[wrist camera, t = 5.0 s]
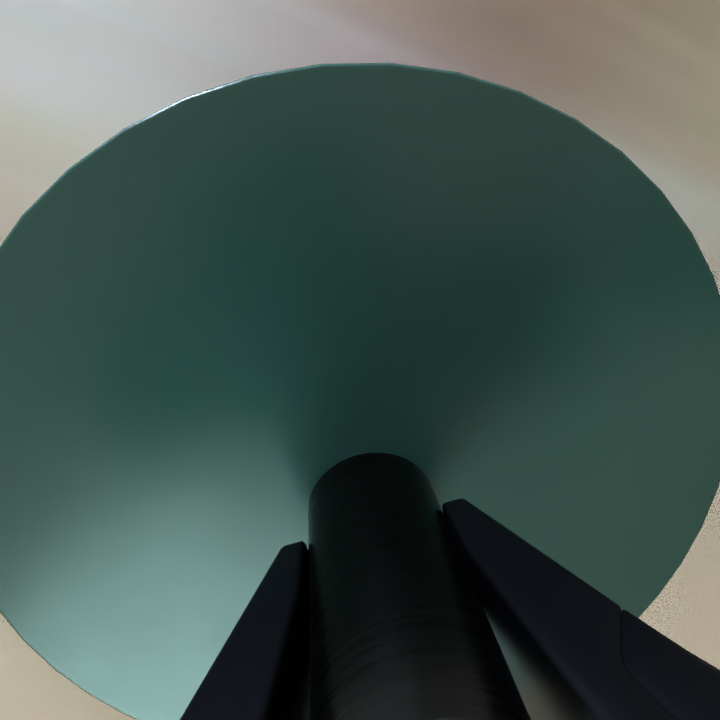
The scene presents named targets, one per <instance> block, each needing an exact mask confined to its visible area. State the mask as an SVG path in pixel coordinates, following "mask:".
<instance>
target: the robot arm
mask: <svg viewBox="0 0 720 720" xmlns="http://www.w3.org/2000/svg"><path fill="white" fill-rule="evenodd" d="M442 510H443V515H444V517H445V519H446V522H447V524H448V526H449V529H450V531H451V534H452V536H453V538H454V541H455V543H456V545H457V548H458V550H459V552H460V555H461V557H462V559H463V562H464V564H465V566H466V569H467V571H468V573H469V576H470V578H471V580H472V582H473V585H474V587H475V589H476V592H477V594H478V596H479V599H480V601H481V603H482V606H483V608H484V610H485V613H486V615H487V617H488V620H489V622H490V625H491V627H492V629H493V632H494V634H495V636H496V639H497V641H498V643H499V646H500V648H501V650H502V653H503V655H504V657H505V660H506V662H507V664H508V667H509V669H510V672H511V674H512V676H513V679H514V681H515V683H516V686H517V688H518V690H519V693H520V695H521V697H522V700H523V702H524V704H525V707H526V709H527V711H528V714H529V716H530V718H531V720H720V670H719V669H717V668H716V667H714V666H712V665H710V664H709V663H707V662H705V661H704V660H702V659H700V658H699V657H697V656H695V655H694V654H692V653H690V652H689V651H687V650H685V649H684V648H682V647H681V646H679V645H678V644H676V643H675V642H673V641H672V640H670V639H669V638H667V637H666V636H664V635H663V634H661V633H660V632H658V631H656V630H655V629H653V628H652V627H650V626H649V625H647V624H646V623H644V622H643V621H642V620H640V619H639V618H637V617H636V616H634V615H633V614H631V613H630V612H628V611H627V610H625V609H624V610H622V611H621V607H620V606H619V605H618V604H617V603H615V602H614V601H612V600H611V599H609V598H608V597H606V596H605V595H603V594H602V593H601V592H599V591H598V590H596V589H595V588H593V587H592V586H590V585H589V584H587V583H586V582H585V581H583V580H582V579H580V578H579V577H577V576H576V575H574V574H573V573H571V572H570V571H569V570H567V569H566V568H564V567H563V566H561V565H560V564H558V563H557V562H555V561H554V560H553V559H551V558H550V557H548V556H547V555H545V554H544V553H542V552H541V551H539V550H538V549H537V548H535V547H534V546H532V545H531V544H529V543H528V542H526V541H525V540H523V539H522V538H521V537H519V536H518V535H516V534H515V533H513V532H512V531H510V530H509V529H507V528H506V527H505V526H503V525H502V524H500V523H499V522H497V521H496V520H494V519H493V518H491V517H490V516H489V515H487V514H486V513H484V512H483V511H481V510H480V509H478V508H477V507H476V506H474V505H473V504H471V503H470V502H468V501H467V500H465V499H463V498H460V499H456V500H452V501H448V502H445V503H444V504H443V505H442ZM180 720H310V674H309V568H308V548H307V545H306V544H305V543H304V542H302V541H300V542H296V543H292V544H288V545H285V546H283V547H282V548H281V549H280V551H279V553H278V554H277V556H276V558H275V560H274V561H273V563H272V565H271V566H270V568H269V570H268V571H267V573H266V575H265V576H264V578H263V580H262V582H261V583H260V585H259V587H258V588H257V590H256V592H255V593H254V595H253V597H252V598H251V600H250V602H249V603H248V605H247V607H246V609H245V610H244V612H243V614H242V615H241V617H240V619H239V620H238V622H237V624H236V625H235V627H234V629H233V631H232V632H231V634H230V636H229V637H228V639H227V641H226V642H225V644H224V646H223V647H222V649H221V651H220V653H219V654H218V656H217V658H216V659H215V661H214V663H213V664H212V666H211V668H210V669H209V671H208V673H207V675H206V676H205V678H204V680H203V681H202V683H201V685H200V686H199V688H198V690H197V691H196V693H195V695H194V696H193V698H192V700H191V702H190V703H189V705H188V707H187V708H186V710H185V712H184V713H183V715H182V717H181V718H180Z"/></svg>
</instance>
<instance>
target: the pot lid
mask: <svg viewBox="0 0 720 720" xmlns="http://www.w3.org/2000/svg"><path fill="white" fill-rule="evenodd" d="M719 482H720V295H719V292H718V289H717V286H716V282H715V279H714V276H713V274H712V272H711V270H710V268H709V266H708V264H707V262H706V260H705V258H704V256H703V254H702V252H701V250H700V248H699V246H698V244H697V242H696V240H695V238H694V236H693V234H692V232H691V231H690V229H689V228H688V227H687V225H686V224H685V223H684V221H683V220H682V218H681V217H680V216H679V214H678V213H677V211H676V210H675V209H674V207H673V206H672V205H671V203H670V202H669V200H668V199H667V198H666V196H665V195H664V194H663V192H662V191H661V190H660V189H659V188H658V187H657V186H656V185H655V184H654V183H653V182H652V181H651V180H650V179H649V178H648V177H647V176H646V175H645V174H644V173H643V172H642V171H641V170H640V169H639V168H638V167H637V166H636V165H635V164H634V163H633V162H632V161H631V160H630V159H629V158H628V157H627V156H626V155H625V154H624V153H623V152H622V151H620V150H619V149H617V148H616V147H615V146H613V145H612V144H610V143H609V142H608V141H606V140H605V139H603V138H602V137H601V136H599V135H598V134H596V133H595V132H593V131H592V130H591V129H589V128H588V127H586V126H585V125H584V124H582V123H581V122H579V121H578V120H577V119H575V118H573V117H571V116H569V115H567V114H565V113H563V112H561V111H559V110H557V109H555V108H553V107H551V106H549V105H547V104H545V103H543V102H541V101H539V100H537V99H535V98H532V97H530V96H528V95H526V94H524V93H522V92H520V91H517V90H514V89H511V88H507V87H504V86H501V85H498V84H494V83H491V82H488V81H485V80H481V79H478V78H475V77H472V76H468V75H465V74H462V73H458V72H452V71H445V70H438V69H431V68H424V67H417V66H410V65H403V64H396V63H346V64H318V65H312V66H306V67H300V68H294V69H288V70H282V71H276V72H270V73H264V74H258V75H252V76H249V77H246V78H243V79H240V80H237V81H234V82H231V83H228V84H225V85H222V86H219V87H216V88H213V89H210V90H206V91H203V92H200V93H197V94H194V95H191V96H188V97H185V98H183V99H181V100H179V101H177V102H175V103H173V104H172V105H170V106H168V107H166V108H164V109H162V110H160V111H158V112H156V113H154V114H152V115H150V116H148V117H146V118H144V119H142V120H140V121H138V122H136V123H134V124H132V125H130V126H128V127H126V128H124V129H123V130H121V131H120V132H119V133H117V134H116V135H114V136H113V137H112V138H110V139H109V140H108V141H106V142H105V143H103V144H102V145H101V146H99V147H98V148H97V149H95V150H94V151H92V152H91V153H90V154H88V155H87V156H85V157H84V158H83V159H81V160H80V161H79V162H77V163H76V164H74V165H73V166H72V167H70V168H69V169H68V170H67V171H66V172H65V173H64V174H63V175H62V176H61V177H60V178H59V179H58V180H57V181H56V182H55V183H54V184H53V185H52V186H51V187H50V188H49V189H48V190H47V191H46V192H45V193H44V194H43V195H42V196H41V197H40V198H39V199H38V200H37V201H36V202H35V203H34V204H33V205H32V206H31V207H30V208H29V209H28V210H27V211H26V212H25V213H24V214H23V215H22V216H21V218H20V219H19V221H18V222H17V223H16V225H15V226H14V228H13V229H12V230H11V232H10V233H9V235H8V236H7V237H6V239H5V240H4V242H3V243H2V245H1V246H0V612H1V614H2V615H3V616H4V617H5V619H6V620H7V621H8V622H9V623H10V625H11V626H12V627H13V628H14V630H15V631H16V632H17V633H18V634H19V636H20V637H21V638H22V639H23V640H24V641H25V642H26V643H27V644H28V645H29V646H30V647H31V648H32V649H33V650H34V651H35V652H37V653H38V654H39V655H40V656H41V657H42V658H43V659H44V660H45V661H46V662H47V663H48V664H49V665H51V666H52V667H53V668H54V669H55V670H56V671H58V672H59V673H60V674H62V675H63V676H64V677H66V678H67V679H69V680H70V681H71V682H73V683H74V684H76V685H77V686H78V687H80V688H81V689H83V690H84V691H85V692H87V693H88V694H89V695H91V696H93V697H95V698H97V699H98V700H100V701H102V702H104V703H106V704H107V705H109V706H111V707H113V708H115V709H116V710H118V711H120V712H122V713H123V714H125V715H127V716H130V717H132V718H135V719H137V720H180V718H181V717H182V715H183V713H184V712H185V710H186V708H187V707H188V705H189V703H190V702H191V700H192V698H193V696H194V695H195V693H196V691H197V690H198V688H199V686H200V685H201V683H202V681H203V680H204V678H205V676H206V675H207V673H208V671H209V669H210V668H211V666H212V664H213V663H214V661H215V659H216V658H217V656H218V654H219V653H220V651H221V649H222V647H223V646H224V644H225V642H226V641H227V639H228V637H229V636H230V634H231V632H232V631H233V629H234V627H235V625H236V624H237V622H238V620H239V619H240V617H241V615H242V614H243V612H244V610H245V609H246V607H247V605H248V603H249V602H250V600H251V598H252V597H253V595H254V593H255V592H256V590H257V588H258V587H259V585H260V583H261V582H262V580H263V578H264V576H265V575H266V573H267V571H268V570H269V568H270V566H271V565H272V563H273V561H274V560H275V558H276V556H277V554H278V553H279V551H280V549H281V548H282V547H283V546H285V545H288V544H292V543H296V542H300V541H302V542H304V543H305V544H306V545H307V548H308V568H309V674H310V720H531V718H530V716H529V714H528V711H527V709H526V707H525V704H524V702H523V700H522V697H521V695H520V693H519V690H518V688H517V686H516V683H515V681H514V679H513V676H512V674H511V672H510V669H509V667H508V664H507V662H506V660H505V657H504V655H503V653H502V650H501V648H500V646H499V643H498V641H497V639H496V636H495V634H494V632H493V629H492V627H491V625H490V622H489V620H488V617H487V615H486V613H485V610H484V608H483V606H482V603H481V601H480V599H479V596H478V594H477V592H476V589H475V587H474V585H473V582H472V580H471V578H470V576H469V573H468V571H467V569H466V566H465V564H464V562H463V559H462V557H461V555H460V552H459V550H458V548H457V545H456V543H455V541H454V538H453V536H452V534H451V531H450V529H449V526H448V524H447V522H446V519H445V517H444V515H443V510H442V505H443V504H444V503H445V502H448V501H452V500H456V499H460V498H463V499H465V500H467V501H468V502H470V503H471V504H473V505H474V506H476V507H477V508H478V509H480V510H481V511H483V512H484V513H486V514H487V515H489V516H490V517H491V518H493V519H494V520H496V521H497V522H499V523H500V524H502V525H503V526H505V527H506V528H507V529H509V530H510V531H512V532H513V533H515V534H516V535H518V536H519V537H521V538H522V539H523V540H525V541H526V542H528V543H529V544H531V545H532V546H534V547H535V548H537V549H538V550H539V551H541V552H542V553H544V554H545V555H547V556H548V557H550V558H551V559H553V560H554V561H555V562H557V563H558V564H560V565H561V566H563V567H564V568H566V569H567V570H569V571H570V572H571V573H573V574H574V575H576V576H577V577H579V578H580V579H582V580H583V581H585V582H586V583H587V584H589V585H590V586H592V587H593V588H595V589H596V590H598V591H599V592H601V593H602V594H603V595H605V596H606V597H608V598H609V599H611V600H612V601H614V602H615V603H617V604H618V605H619V606H620V607H621V611H622V610H624V609H625V610H627V611H628V612H630V613H631V614H633V615H634V616H636V617H637V618H639V617H640V616H641V614H642V613H643V612H644V611H645V610H646V609H647V608H648V606H649V605H650V604H651V603H652V602H653V601H654V600H655V598H656V597H657V596H658V595H659V594H660V592H661V591H662V590H663V588H664V587H665V585H666V584H667V583H668V581H669V580H670V578H671V577H672V576H673V574H674V573H675V571H676V570H677V569H678V567H679V566H680V564H681V563H682V561H683V560H684V558H685V556H686V554H687V553H688V551H689V549H690V547H691V545H692V544H693V542H694V540H695V538H696V536H697V535H698V533H699V531H700V529H701V528H702V525H703V523H704V520H705V518H706V516H707V513H708V511H709V508H710V506H711V504H712V501H713V499H714V496H715V494H716V492H717V489H718V485H719Z"/></svg>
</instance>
